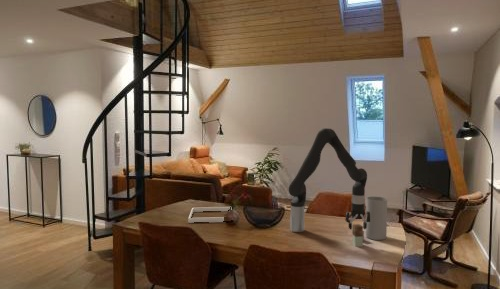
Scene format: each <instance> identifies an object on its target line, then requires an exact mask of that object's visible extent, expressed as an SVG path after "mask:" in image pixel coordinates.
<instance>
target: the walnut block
mask: <svg viewBox="0 0 500 289" xmlns="http://www.w3.org/2000/svg"><path fill="white" fill-rule="evenodd" d="M363 231H364V229H363V225H361V224H359V223H356V224H353V223H352V236H353V235H354V236H355V237H362V236H363Z"/></svg>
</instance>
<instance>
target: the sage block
mask: <svg viewBox="0 0 500 289" xmlns="http://www.w3.org/2000/svg"><path fill="white" fill-rule="evenodd" d="M363 242H364V241H363V236H362V237H355V236H354V235H353V234H352V243H351V244H352V245H353V246H354V247H355V248H356V247H357V248H358V247H364V246H363Z"/></svg>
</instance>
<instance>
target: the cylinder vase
mask: <svg viewBox="0 0 500 289" xmlns="http://www.w3.org/2000/svg"><path fill="white" fill-rule="evenodd" d="M367 211H368V212H370V222H367V228H366V229H365V237H366V238H367V239H370V240H373V241H384V240H385V239H387V231H388V230H387V227H388V226H387V225H388V223H387V222H388V220H387V219H388V198H387V197H382V196H367V197H365V212H367ZM365 219H366V220H367V216H366V215H365Z"/></svg>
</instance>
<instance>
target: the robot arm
mask: <svg viewBox="0 0 500 289" xmlns="http://www.w3.org/2000/svg"><path fill="white" fill-rule="evenodd" d="M327 144H329V145H330V146H331V147H332V148H333V149H334V151H335V153H336V156H337V158H338V161H339V162H340V163H341V164H342V165H343V167H345V169H346V172H347V173H348V175H349V177H350V178H351V180H353V181H354V184H353V185H352V188H351V191H352V193H351V211H346V212H345V222H346V223H348V229H349V230H353V222H354V221H355V220H362V221H363V224H362V226H363V230H366V228H367V222H370V212H368V211H367V212H366V197H365V195H366V194H365V193H366V192H365V191H366V184H367V180H368V173H367V171H366V169H364V168H358V167H357V162H356V160H355V158H353V156H352V155H351V154H350V153H349V152H348V150H347V149H346V148H345V147H344V145H343V143H342V141H341V140H340V138H339V136H338V135H337V133H336V131H335V130H334V129H332V128H329V127H328V128H324V127H323V128H321V129H319V131H318V132H317V134H316V136H315V139H314V141H313V143H312V146H311V148H310V149H309V152H308V153H307V154H306V157H305V158H304V160H303V162H302V164H301V166H300V168H299V170H298V172H297V174H296V175H295V177H294V178H293V180H292V181H291V183H290V184H289V187H288V193H289V195H290V196H292V197H293V198H292V199H291V200H290V215H289V230H290V231H291V232H292V233H303V232H305V203H306V200H307V186H306V184H305V183H306V181H307V180H308V179H309V178H310V177H311V176H312V175H313V173H314V172H315V171H316V170H317V168H318V166H319V165H320V162H321V157H322V156H321V154H322V151H323V149H324V148H325V146H326V145H327ZM366 216H367V220H366Z"/></svg>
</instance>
